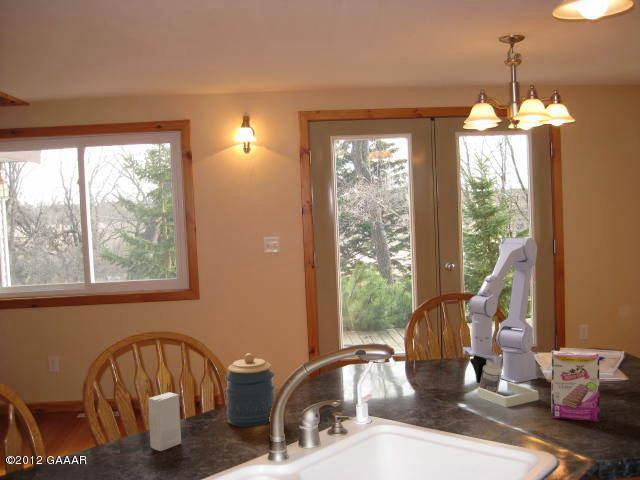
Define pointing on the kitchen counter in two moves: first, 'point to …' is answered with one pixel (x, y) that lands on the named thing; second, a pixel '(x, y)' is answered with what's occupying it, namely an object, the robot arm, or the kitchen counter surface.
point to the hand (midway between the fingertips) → (481, 382)
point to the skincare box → (164, 421)
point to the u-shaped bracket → (521, 396)
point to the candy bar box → (575, 385)
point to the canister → (249, 392)
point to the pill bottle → (490, 376)
